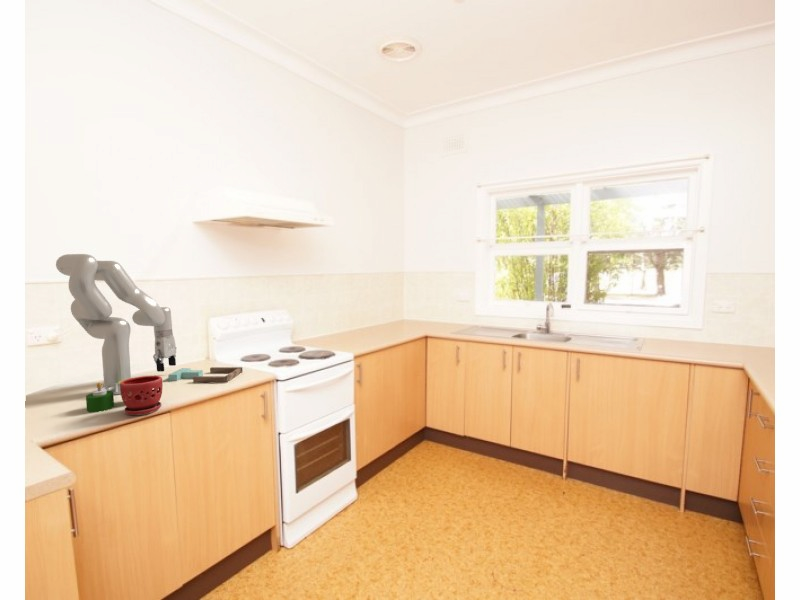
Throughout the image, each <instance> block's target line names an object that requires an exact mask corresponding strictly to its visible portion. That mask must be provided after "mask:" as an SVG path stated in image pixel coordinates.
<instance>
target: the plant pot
mask: <svg viewBox="0 0 800 600" xmlns="http://www.w3.org/2000/svg"><path fill="white" fill-rule="evenodd" d="M120 391H121V394H120V396H121V400H122V402H123V404H124V406H125V408H124V410H123V411H124V412H125V414H126V415H130V416H141V415H143V416H144V415H149V414H151V413H154V412H156V411H158V410H159V409H160V408H161V407H162V402H161V398H162V394H163V377H162V376H159V375H143V376H138V377H137V376H136V378H135V377H131V379H127V380H124V381H122V382H121V383H120ZM129 392H131V393H132V394H130V393H129Z"/></svg>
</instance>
